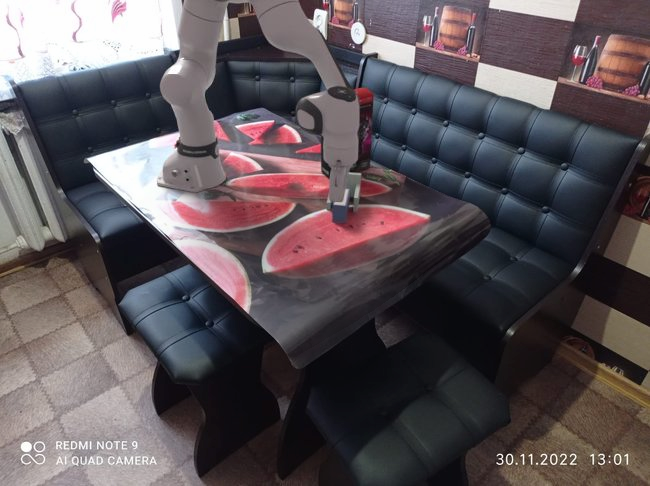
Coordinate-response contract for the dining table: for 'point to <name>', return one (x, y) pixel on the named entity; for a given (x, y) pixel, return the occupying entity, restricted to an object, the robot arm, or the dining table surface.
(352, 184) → the bracket
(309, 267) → the dining table surface
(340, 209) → the book
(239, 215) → the dining table surface
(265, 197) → the dining table surface
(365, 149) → the graphics card box
